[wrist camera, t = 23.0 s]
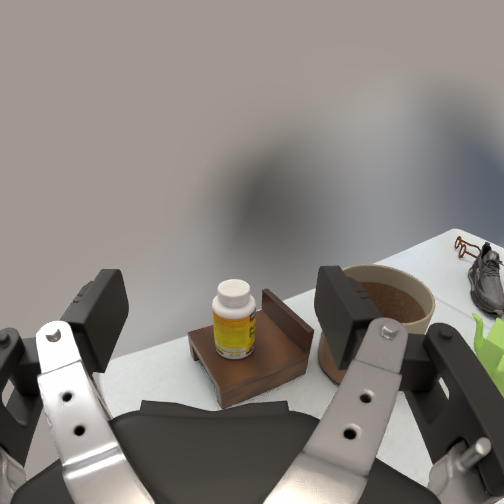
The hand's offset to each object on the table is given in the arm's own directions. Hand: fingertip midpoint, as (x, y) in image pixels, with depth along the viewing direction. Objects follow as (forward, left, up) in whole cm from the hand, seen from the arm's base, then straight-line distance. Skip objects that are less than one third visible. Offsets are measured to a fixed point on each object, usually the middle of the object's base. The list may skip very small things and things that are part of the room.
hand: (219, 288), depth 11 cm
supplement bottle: (+9, +18, -23) cm, 31 cm away
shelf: (+11, +18, -28) cm, 35 cm away
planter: (+28, +9, -28) cm, 41 cm away
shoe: (+75, +2, -28) cm, 80 cm away
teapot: (+44, -12, -28) cm, 54 cm away
